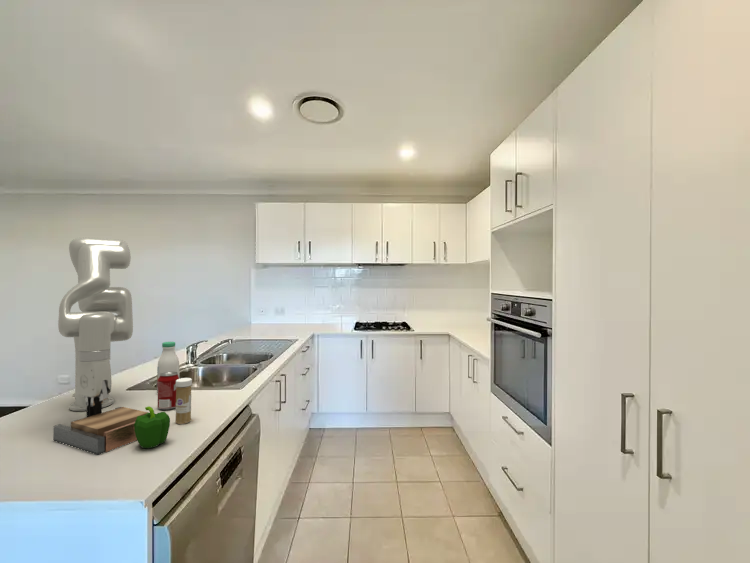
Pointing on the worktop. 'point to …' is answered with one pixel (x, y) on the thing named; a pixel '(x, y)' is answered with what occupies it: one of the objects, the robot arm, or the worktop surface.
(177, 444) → the worktop surface
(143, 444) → the bell pepper
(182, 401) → the sprinkles bottle
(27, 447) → the worktop surface
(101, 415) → the slab
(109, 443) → the roller track
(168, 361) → the milk bottle
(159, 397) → the soda can
